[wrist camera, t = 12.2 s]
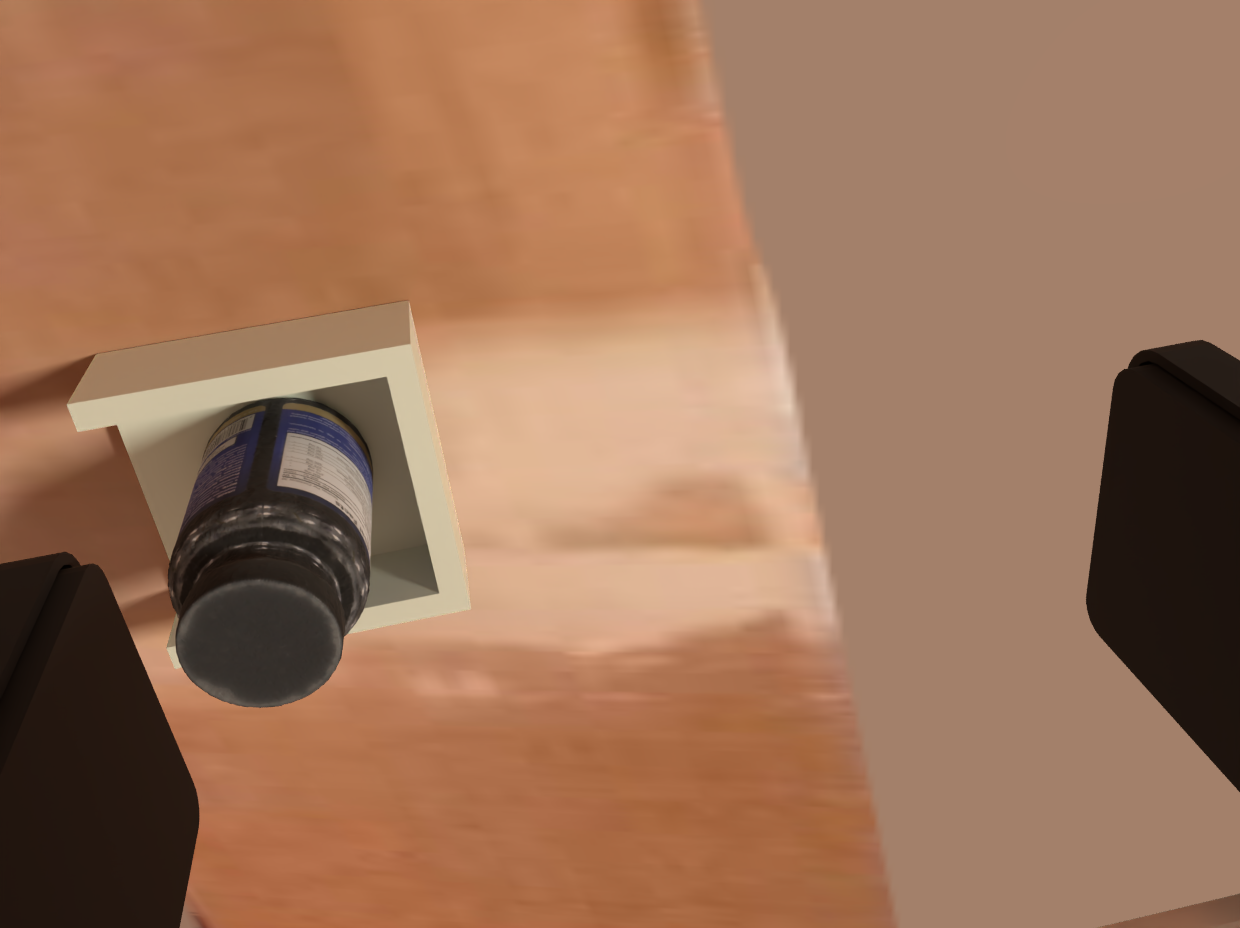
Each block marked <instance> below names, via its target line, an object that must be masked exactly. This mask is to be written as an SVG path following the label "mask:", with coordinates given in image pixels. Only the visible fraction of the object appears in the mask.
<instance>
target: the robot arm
mask: <svg viewBox="0 0 1240 928" xmlns="http://www.w3.org/2000/svg"><path fill="white" fill-rule="evenodd" d="M1086 604H1087V610H1088V615H1089V618H1090V621H1091V623H1092V625H1093V627H1094V629H1095V631H1096V632H1097V633H1098V634H1099V636H1100V637H1101V638H1102V639H1103V640H1104V642H1105V643H1106V644H1107V645H1108V646H1109V647H1110V648H1111V649H1112V651H1113V652H1114V653H1115V654H1116V655H1117V656H1118V657H1119V658H1120V659H1121V660H1122V661H1123V663H1124V664H1125V665H1126V666H1127V667H1128V668H1129V669H1130V671H1131V672H1132V673H1133V674H1134V675H1135V676H1136V677H1137V678H1138V679H1139V680H1140V682H1141V683H1142V684H1143V685H1144V686H1145V687H1146V688H1147V689H1148V691H1149V692H1150V693H1151V694H1152V695H1153V696H1154V697H1155V698H1156V699H1157V700H1158V702H1159V703H1160V704H1161V705H1162V706H1163V707H1164V708H1165V709H1166V711H1167V712H1168V713H1169V714H1170V715H1171V716H1172V717H1173V718H1174V719H1175V721H1176V722H1177V723H1178V724H1179V725H1180V726H1181V727H1182V728H1183V729H1184V731H1185V732H1186V733H1187V734H1188V735H1189V736H1190V737H1191V738H1192V739H1193V740H1194V742H1195V743H1196V744H1197V745H1198V746H1199V747H1200V748H1201V749H1202V751H1203V752H1204V753H1205V754H1206V755H1207V756H1208V757H1209V758H1210V760H1211V761H1212V762H1213V763H1214V764H1215V765H1216V766H1217V767H1218V768H1219V770H1221V772H1222V773H1223V774H1224V775H1225V776H1226V777H1227V778H1228V779H1229V781H1230V782H1231V783H1232V784H1233V785H1234V786H1235V787H1236V788H1237V790H1238V791H1239V792H1240V361H1239V360H1238V359H1236V358H1234V357H1233V356H1231V355H1230V354H1228V353H1226V352H1225V351H1223V350H1221V349H1220V348H1218V347H1216V346H1215V345H1213V344H1211V343H1209V342H1206V341H1203V340H1199V341H1191V342H1185V343H1180V344H1175V345H1170V346H1164V347H1159V348H1154V349H1148V350H1143V351H1140V352H1139V353H1137V354H1136V355H1135V356H1134V357H1133V359H1132V360H1131V362H1130V364H1129V366H1128V369H1124V370H1122V371H1121V372H1120V373H1119V374H1118V376H1117V377H1116V379H1115V382H1114V386H1113V393H1112V401H1111V409H1110V416H1109V424H1108V432H1107V439H1106V447H1105V455H1104V462H1103V470H1102V478H1101V486H1100V494H1099V502H1098V509H1097V518H1096V524H1095V532H1094V540H1093V548H1092V555H1091V563H1090V571H1089V579H1088V587H1087V594H1086ZM198 828H199V803H198V797H197V792H196V789H195V786H194V783H193V780H192V778H191V776H190V773H189V771H188V769H187V766H186V764H185V762H184V759H183V757H182V754H181V752H180V750H179V747H178V745H177V743H176V740H175V738H174V736H173V733H172V731H171V729H170V726H169V724H168V722H167V719H166V717H165V714H164V712H163V710H162V707H161V705H160V703H159V700H158V698H157V696H156V693H155V691H154V689H153V686H152V684H151V682H150V679H149V677H148V674H147V672H146V670H145V667H144V665H143V663H142V660H141V658H140V656H139V653H138V651H137V649H136V646H135V644H134V642H133V639H132V637H131V635H130V632H129V630H128V627H127V625H126V623H125V620H124V618H123V616H122V613H121V611H120V609H119V606H118V604H117V602H116V599H115V597H114V595H113V592H112V590H111V587H110V585H109V583H108V580H107V578H106V576H105V574H104V573H103V571H102V570H101V569H100V567H99V566H98V565H95V564H88V565H83V566H81V565H80V564H79V562H78V561H77V560H76V558H75V557H74V556H73V555H72V554H69V553H67V552H62V553H57V554H51V555H46V556H41V557H35V558H30V559H24V560H19V561H14V562H8V563H3V564H0V928H179V927H180V922H181V917H182V912H183V906H184V901H185V896H186V891H187V886H188V880H189V875H190V870H191V865H192V860H193V854H194V849H195V844H196V839H197V834H198ZM1098 928H1240V894H1237V895H1232V896H1228V897H1224V898H1220V899H1215V900H1211V901H1207V902H1203V903H1199V904H1194V905H1190V906H1186V907H1182V908H1178V909H1174V910H1169V911H1165V912H1161V913H1156V914H1152V915H1148V916H1144V917H1139V918H1135V919H1131V920H1127V921H1123V922H1119V923H1114V924H1110V925H1106V926H1102V927H1098Z"/></svg>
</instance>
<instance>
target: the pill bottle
mask: <svg viewBox="0 0 1240 928" xmlns="http://www.w3.org/2000/svg"><path fill="white" fill-rule="evenodd" d="M372 496H373V464H372V459H371V455H370V451H369V448H368V445H367V443H366V442H365V440H364V439H363V437H362V435H361V434H360V432H359V431H358V429H357V428H356V427H355V426H354V425H353V424H352V423H351V422H350V421H349V420H348V419H347V418H346V417H344V416H343V415H341V414H340V413H338V412H337V411H335V410H334V409H332V408H330V407H328V406H327V405H324V404H322V403H319V402H315V401H311V400H306V399H301V398H276V399H267V400H261V401H257V402H255V403H252V404H249V405H246V406H245V407H243V408H241V409H239V410H238V411H236V412H234V413H232V414H231V415H230V416H228V417H227V418H226V419H225V420H224V421H223V423H222V424H221V425H220V426H219V427H218V428H217V430H216V431H215V432H214V433H213V435H212V436H211V438H210V439H209V441H208V444H207V446H206V449H205V451H204V455H203V458H202V463H201V465H200V468H199V471H198V475H197V478H196V480H195V484H194V487H193V490H192V494H191V497H190V500H189V503H188V506H187V509H186V513H185V516H184V519H183V522H182V525H181V528H180V531H179V535H178V538H177V541H176V544H175V547H174V549H173V552H172V555H171V559H170V563H169V569H168V587H169V592H170V598H171V601H172V605H173V608H174V609H175V611H176V613H177V617H178V618H179V620H178V625H177V628H176V636H175V645H176V654H177V656H178V660H179V663H180V665H181V666H182V668H183V670H184V672H185V673H186V674H187V676H188V677H189V679H190V680H191V681H192V682H193V683H194V684H195V685H196V686H198V687H199V688H201V689H202V690H203V691H205V692H207V693H208V694H209V695H211V696H213V697H215V698H217V699H219V700H221V701H224V702H228V703H230V704H235V705H238V706H244V707H259V708H261V707H275V706H282V705H284V704H288V703H292V702H295V701H297V700H300V699H302V698H304V697H306V696H308V695H310V694H311V693H313V692H314V691H316V690H317V689H319V688H320V687H321V686H322V685H324V684H325V683H326V681H328V680H329V678H330V677H331V675H332V673H333V672H334V671H335V670H336V667H337V665H338V663H339V661H340V659H341V656H342V649H343V639H344V636H345V635H347V634H348V633H349V631H350V630H351V629H352V628H353V626H354V625H355V624H356V622H357V621H358V619H359V618H360V615H361V613H362V612H363V610H364V608H365V604H366V601H367V597H368V593H369V591H370V590H369V586H370V562H371V561H370V558H371V528H372Z"/></svg>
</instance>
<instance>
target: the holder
mask: <svg viewBox="0 0 1240 928" xmlns="http://www.w3.org/2000/svg"><path fill="white" fill-rule="evenodd" d="M276 398H301V399H306V400H311V401H315V402H319V403H322V404H324V405H327V406H328V407H330V408H332V409H334V410H335V411H337V412H338V413H340V414H341V415H343V416H344V417H346V418H347V419H348V420H349V421H350V422H351V423H352V424H353V425H354V426H355V427H356V428H357V429H358V431H359V432H360V434H361V435H362V437H363V439H364V440H365V442H366V443H367V445H368V448H369V451H370V455H371V459H372V464H373V496H372V528H371V558H370V561H371V562H370V586H369V590H370V591H369V593H368V597H367V601H366V604H365V608H364V610H363V612H362V613H361V615H360V618H359V619H358V621H357V622H356V624H355V625H354V626H353V628H352V629H351V630H350V631H349V633H348V634H351V633H356V632H361V631H366V630H371V629H376V628H381V627H386V626H391V625H396V624H401V623H406V622H411V621H416V620H421V619H426V618H431V617H436V616H440V615H445V614H450V613H455V612H460V611H465V610H470V609H471V605H470V596H469V587H468V577H467V568H466V558H465V550H464V545H463V541H462V536H461V532H460V527H459V523H458V518H457V514H456V509H455V505H454V500H453V496H452V491H451V487H450V483H449V478H448V474H447V469H446V465H445V460H444V456H443V451H442V447H441V442H440V438H439V433H438V429H437V424H436V420H435V415H434V411H433V407H432V402H431V398H430V393H429V389H428V384H427V380H426V375H425V371H424V366H423V362H422V357H421V353H420V348H419V344H418V339H417V335H416V330H415V326H414V322H413V317H412V313H411V308H410V304H409V300H407V301H401V302H395V303H389V304H383V305H378V306H372V307H366V308H360V309H354V310H349V311H343V312H337V313H331V314H325V315H320V316H314V317H308V318H302V319H296V320H291V321H285V322H279V323H273V324H267V325H262V326H256V327H250V328H244V329H238V330H233V331H227V332H221V333H215V334H209V335H204V336H198V337H192V338H186V339H180V340H175V341H169V342H163V343H157V344H151V345H146V346H140V347H134V348H128V349H122V350H117V351H111V352H105V353H99V354H96V355H95V357H94V358H93V360H92V362H91V363H90V365H89V367H88V369H87V370H86V372H85V374H84V375H83V377H82V379H81V381H80V382H79V384H78V386H77V387H76V389H75V391H74V393H73V394H72V396H71V398H70V399H69V401H68V403H67V407H68V409H69V412H70V414H71V417H72V419H73V422H74V424H75V426H76V429H77V431H78V432H80V431H86V430H92V429H97V428H103V427H108V426H114V425H117V427H118V429H119V432H120V434H121V437H122V439H123V442H124V445H125V447H126V450H127V452H128V455H129V457H130V460H131V463H132V465H133V468H134V470H135V473H136V475H137V478H138V481H139V483H140V486H141V488H142V491H143V493H144V496H145V499H146V501H147V504H148V506H149V509H150V511H151V514H152V517H153V519H154V522H155V524H156V527H157V529H158V532H159V535H160V537H161V540H162V542H163V545H164V547H165V550H166V553H167V555H168V558H169V560H170V559H171V555H172V552H173V549H174V547H175V544H176V541H177V538H178V535H179V531H180V528H181V525H182V522H183V519H184V516H185V513H186V509H187V506H188V503H189V500H190V497H191V494H192V490H193V487H194V484H195V480H196V478H197V475H198V471H199V468H200V465H201V463H202V458H203V455H204V451H205V449H206V446H207V444H208V441H209V439H210V438H211V436H212V435H213V433H214V432H215V431H216V430H217V428H218V427H219V426H220V425H221V424H222V423H223V421H224V420H225V419H226V418H227V417H228V416H230V415H231V414H232V413H234V412H236V411H238V410H239V409H241V408H243V407H245V406H246V405H249V404H252V403H255V402H257V401H261V400H267V399H276ZM178 620H179V618H178V617H177V613H176V615H175V619H174V622H173V626H172V630H171V633H170V637H169V640H168V644H167V647H166V648H167V651H168V653H169V656H170V658H171V660H172V663H173V665H174V668H175V669H177V668H182V666H181V665H180V663H179V660H178V656H177V654H176V645H175V636H176V628H177V625H178Z"/></svg>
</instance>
